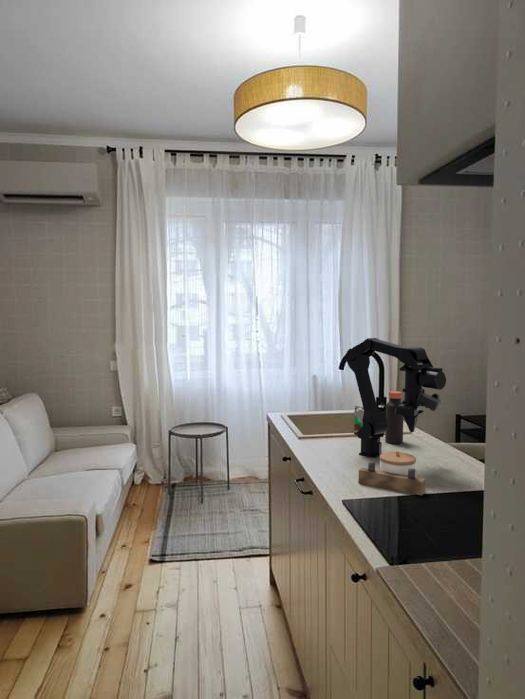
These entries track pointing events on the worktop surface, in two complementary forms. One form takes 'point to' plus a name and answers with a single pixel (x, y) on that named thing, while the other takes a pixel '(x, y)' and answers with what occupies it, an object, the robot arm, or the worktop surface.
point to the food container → (358, 418)
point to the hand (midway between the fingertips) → (412, 432)
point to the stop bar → (392, 480)
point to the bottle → (394, 419)
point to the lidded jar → (397, 462)
